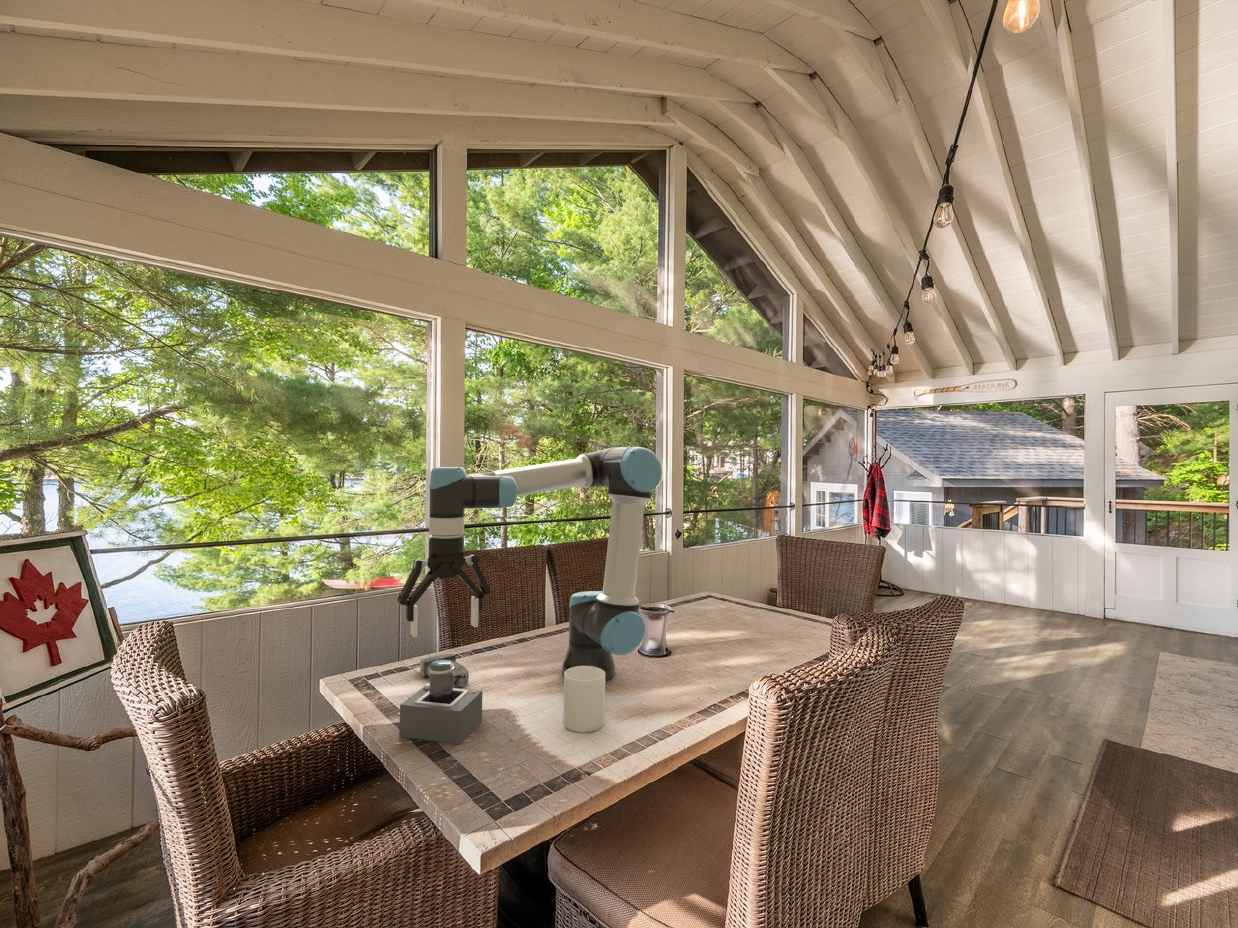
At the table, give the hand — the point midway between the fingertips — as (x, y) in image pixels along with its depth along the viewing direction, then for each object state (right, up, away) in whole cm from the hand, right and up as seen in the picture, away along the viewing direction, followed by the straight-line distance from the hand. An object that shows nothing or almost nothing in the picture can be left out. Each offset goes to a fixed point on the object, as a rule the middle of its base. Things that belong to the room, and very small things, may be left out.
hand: (445, 630), depth 126 cm
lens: (-1, -17, -1) cm, 17 cm away
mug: (+30, -23, +4) cm, 38 cm away
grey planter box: (-1, -22, -1) cm, 22 cm away
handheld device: (-8, -22, +28) cm, 37 cm away
